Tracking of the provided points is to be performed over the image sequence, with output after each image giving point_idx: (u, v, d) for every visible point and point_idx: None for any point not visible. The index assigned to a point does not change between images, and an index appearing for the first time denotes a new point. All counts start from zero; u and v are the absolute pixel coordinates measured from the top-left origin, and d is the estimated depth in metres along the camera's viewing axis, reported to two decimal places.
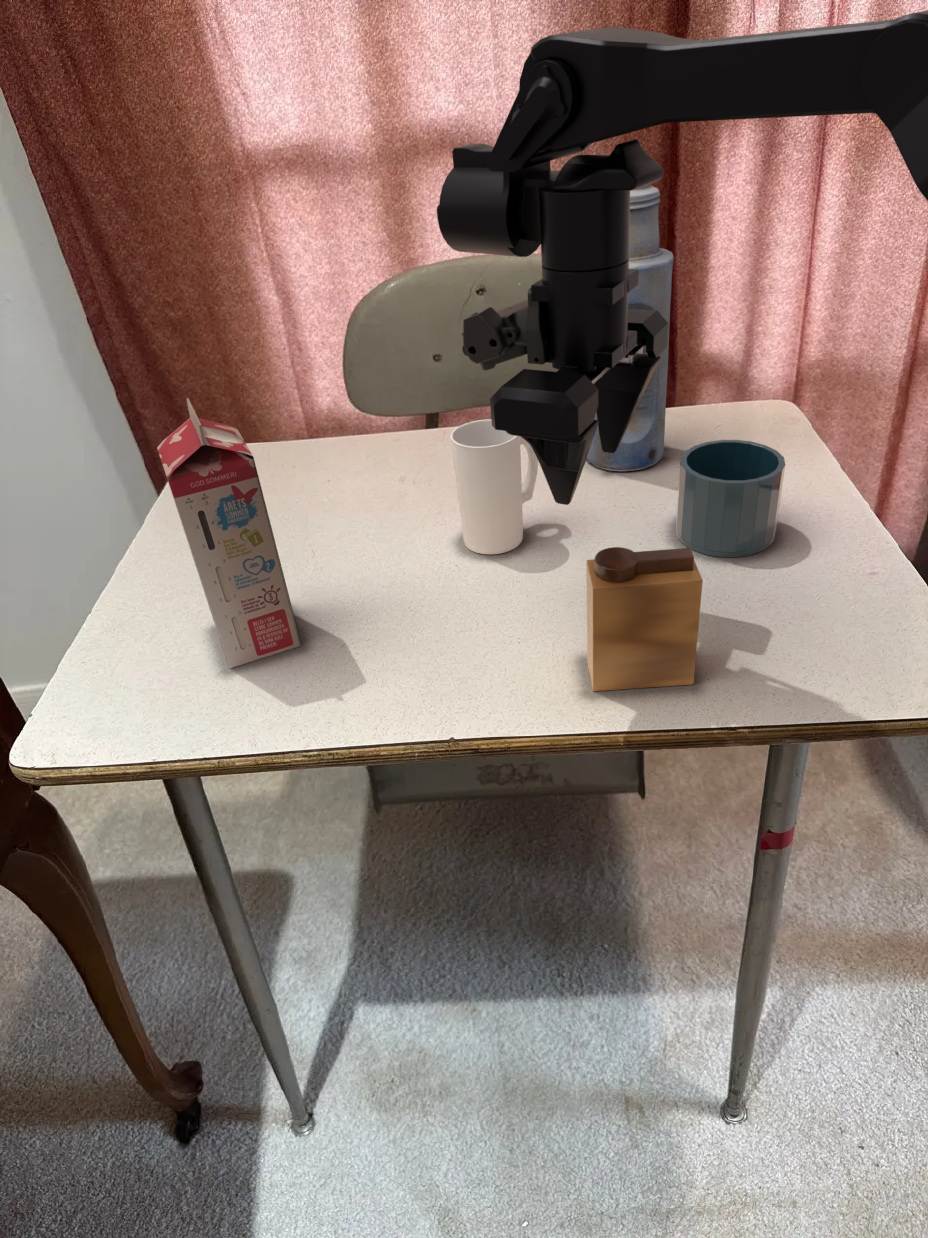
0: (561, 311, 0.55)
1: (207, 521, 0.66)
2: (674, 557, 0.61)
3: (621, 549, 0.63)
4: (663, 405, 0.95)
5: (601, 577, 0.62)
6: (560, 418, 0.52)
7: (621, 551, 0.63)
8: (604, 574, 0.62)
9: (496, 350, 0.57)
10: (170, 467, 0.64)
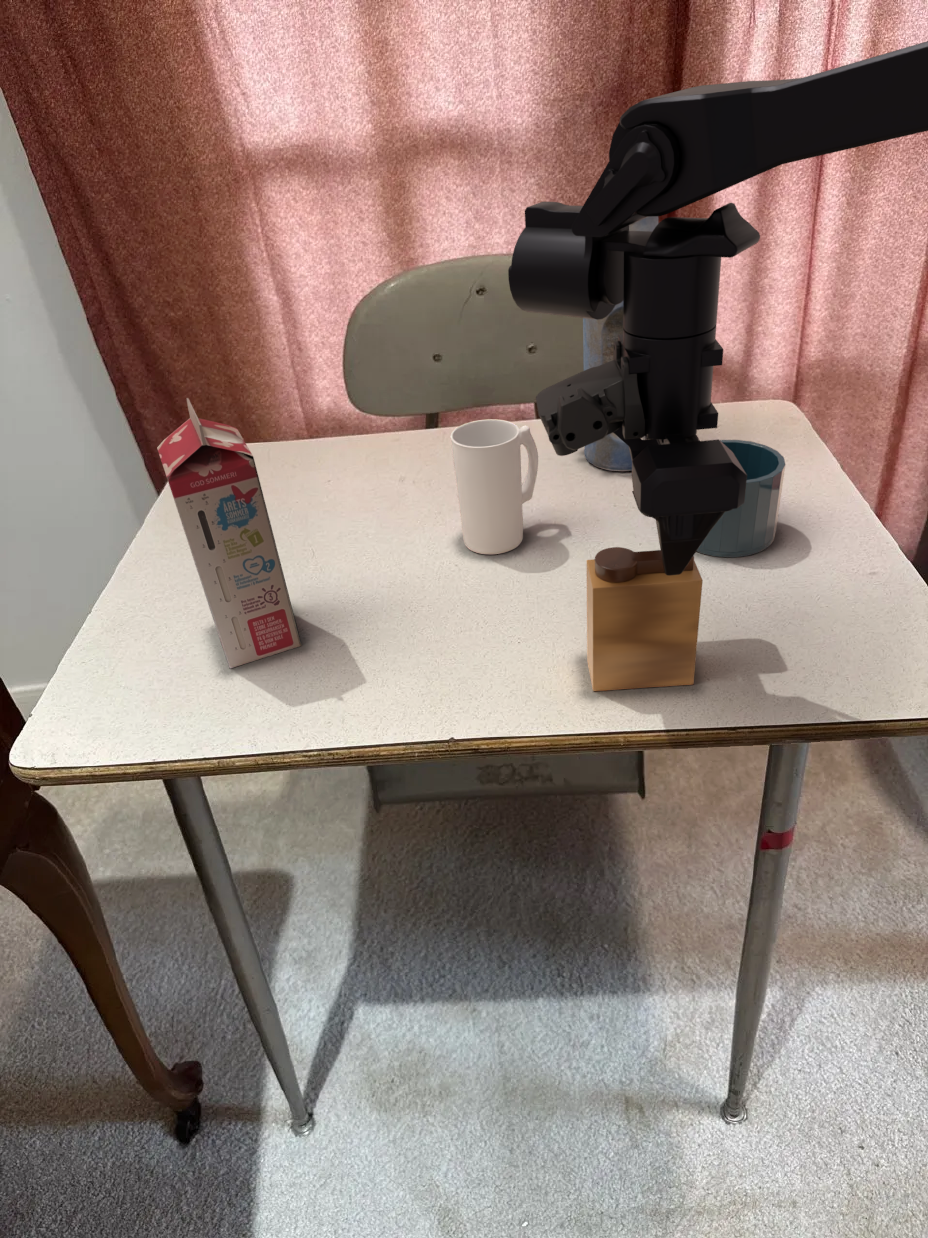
0: (668, 379, 0.52)
1: (207, 521, 0.66)
2: None
3: (621, 549, 0.63)
4: None
5: (601, 577, 0.62)
6: (733, 488, 0.49)
7: (621, 551, 0.63)
8: (604, 574, 0.62)
9: (601, 432, 0.52)
10: (170, 467, 0.64)
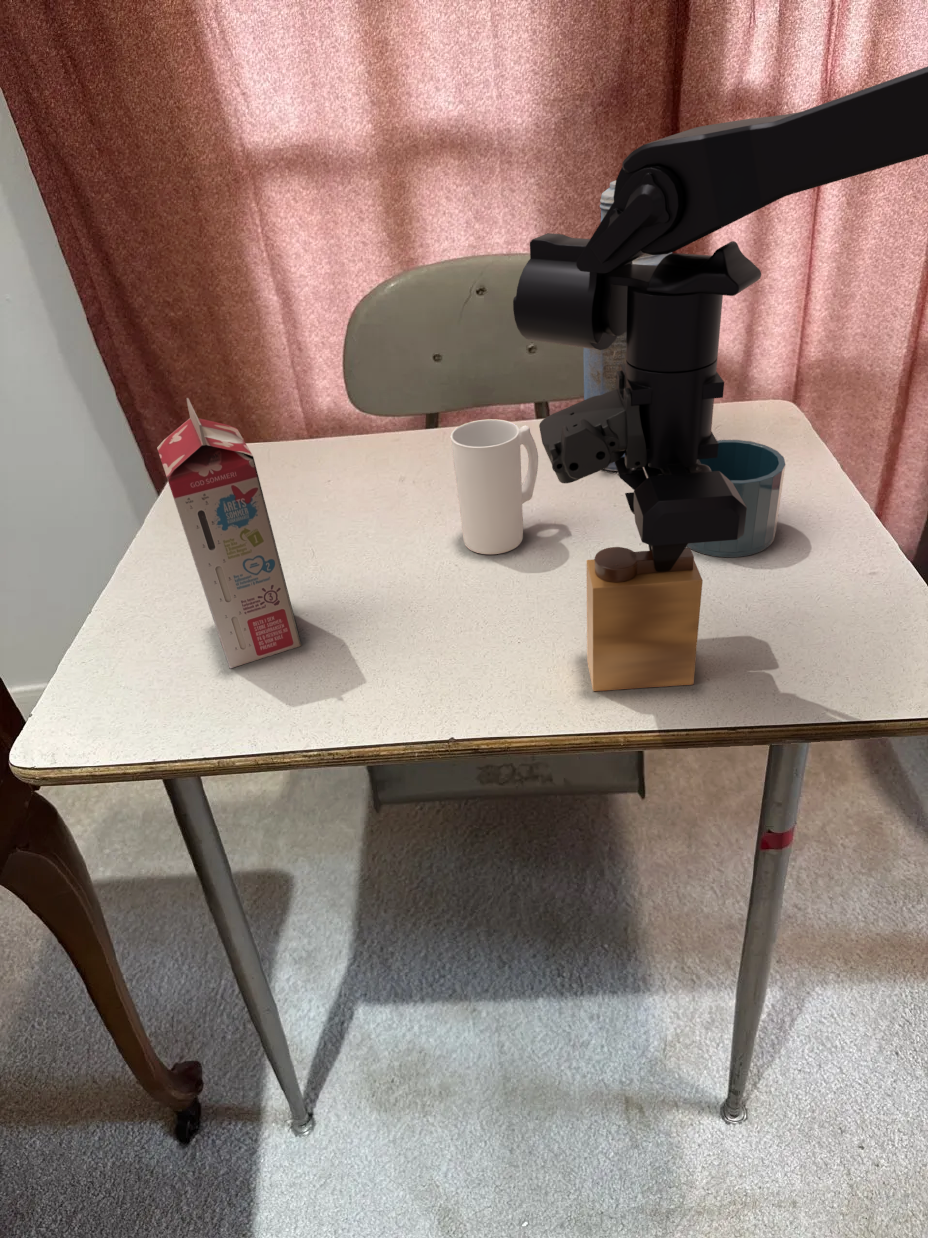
0: (669, 411, 0.53)
1: (207, 521, 0.66)
2: None
3: (621, 549, 0.63)
4: None
5: (601, 577, 0.62)
6: (732, 520, 0.50)
7: (621, 551, 0.63)
8: (603, 574, 0.62)
9: (604, 462, 0.53)
10: (170, 467, 0.64)
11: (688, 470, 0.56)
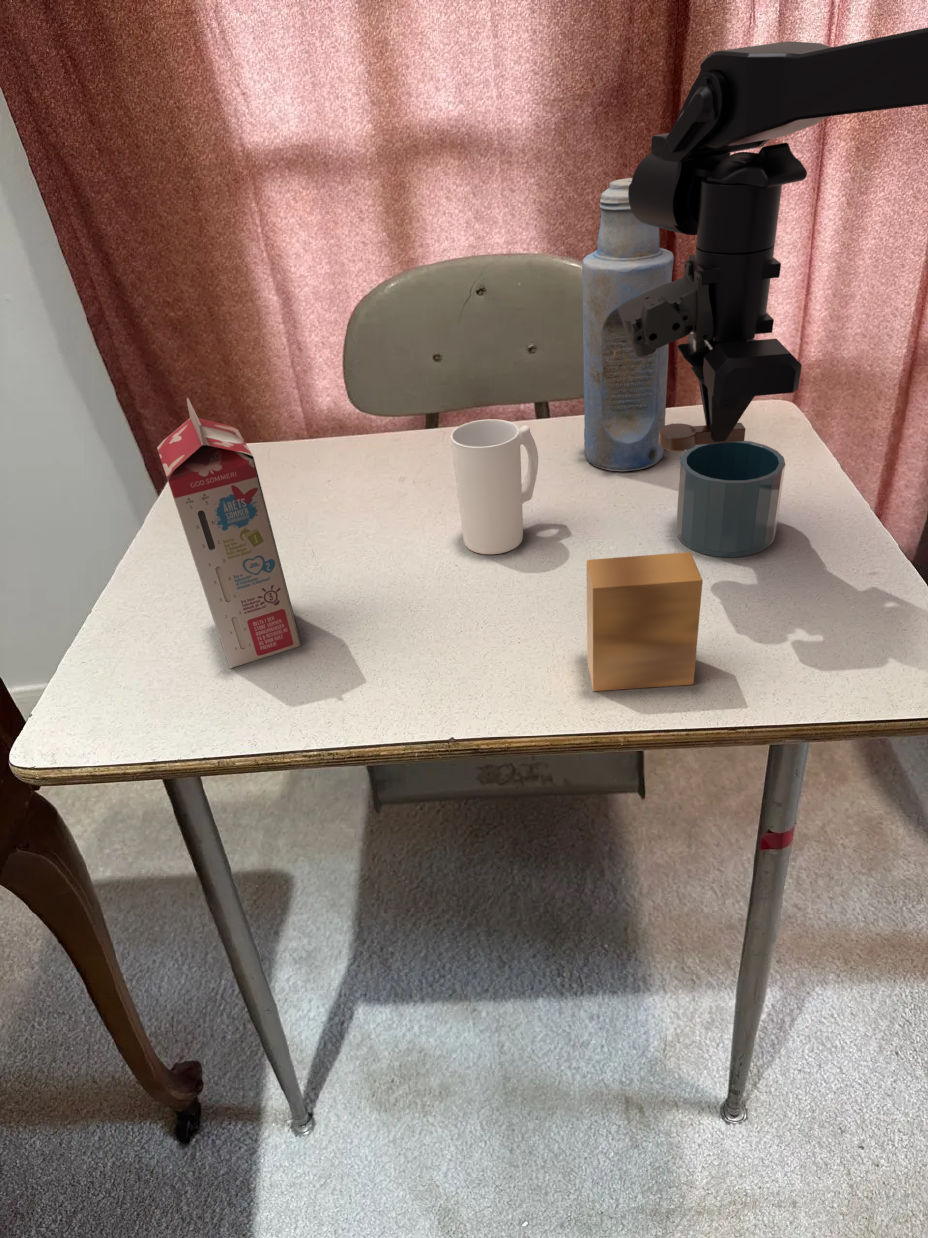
0: (734, 289, 0.63)
1: (207, 521, 0.66)
2: None
3: (681, 424, 0.73)
4: (663, 405, 0.95)
5: (665, 447, 0.72)
6: (790, 375, 0.60)
7: (681, 426, 0.73)
8: (668, 443, 0.72)
9: (679, 332, 0.63)
10: (170, 467, 0.64)
11: None
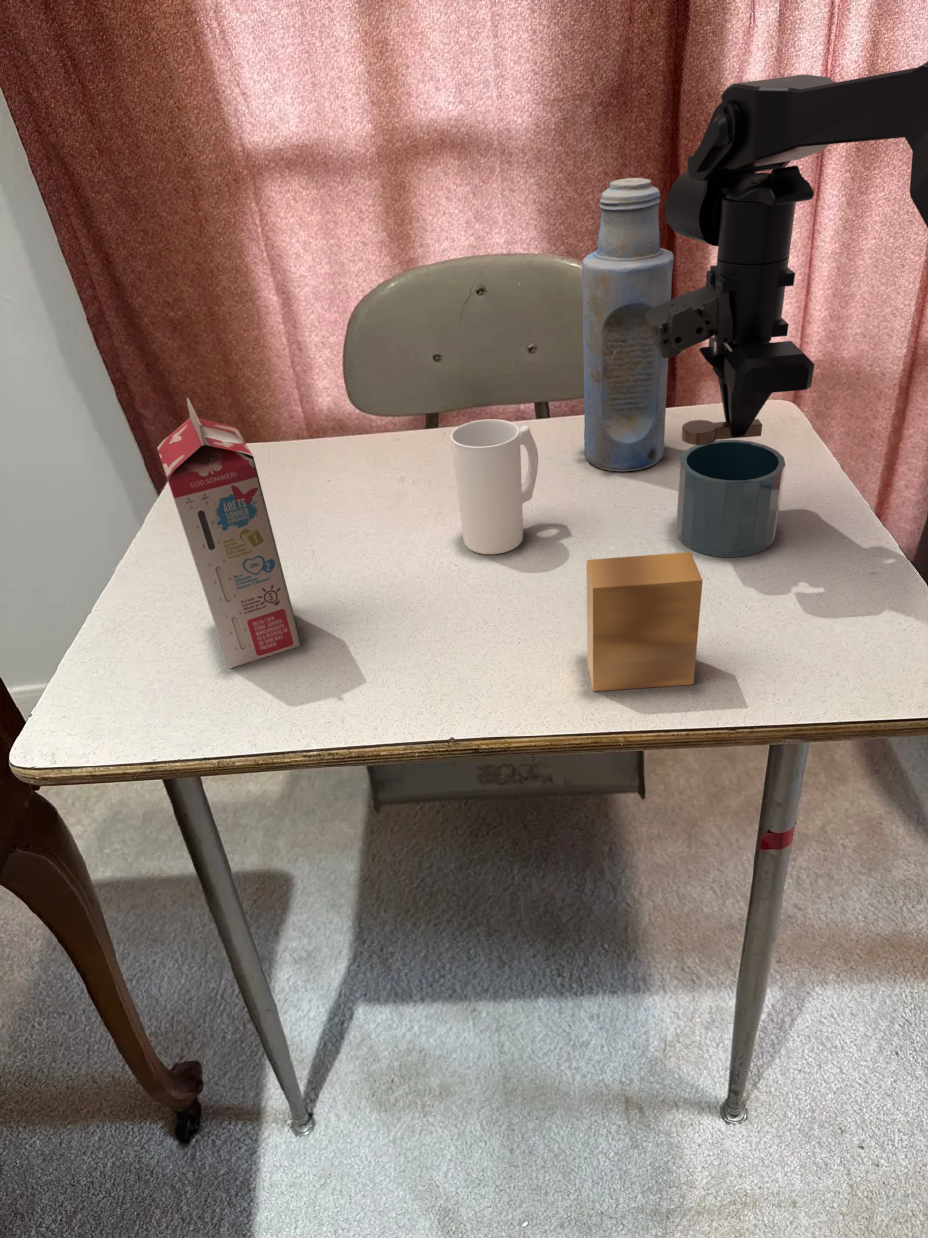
0: (752, 296, 0.69)
1: (207, 521, 0.66)
2: None
3: (703, 421, 0.79)
4: (663, 405, 0.95)
5: (688, 441, 0.78)
6: (804, 373, 0.66)
7: (703, 422, 0.79)
8: (690, 438, 0.78)
9: (702, 336, 0.69)
10: (170, 467, 0.64)
11: None
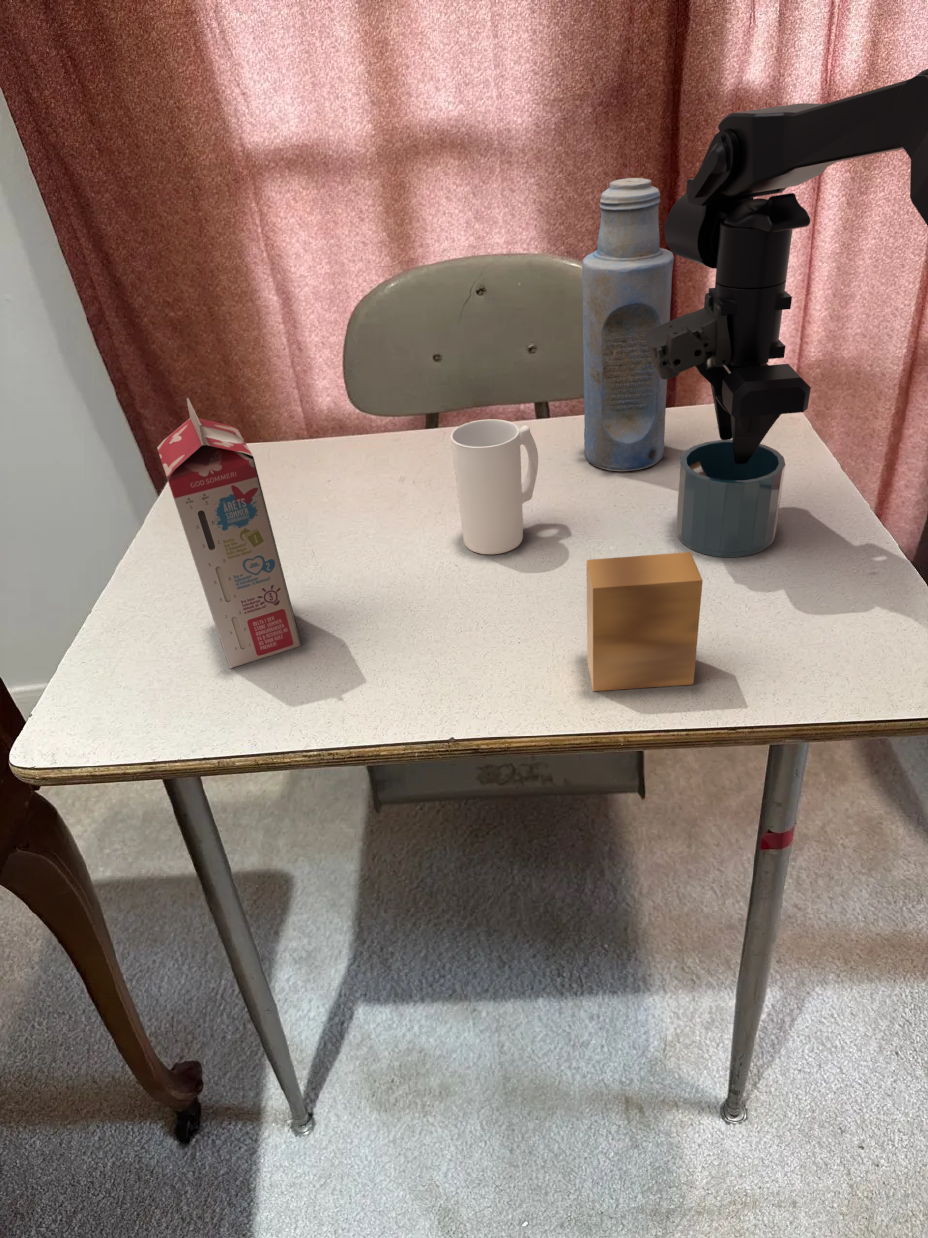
0: (750, 319, 0.70)
1: (207, 521, 0.66)
2: None
3: None
4: (663, 405, 0.95)
5: None
6: (800, 397, 0.67)
7: None
8: None
9: (700, 358, 0.70)
10: (170, 467, 0.64)
11: None
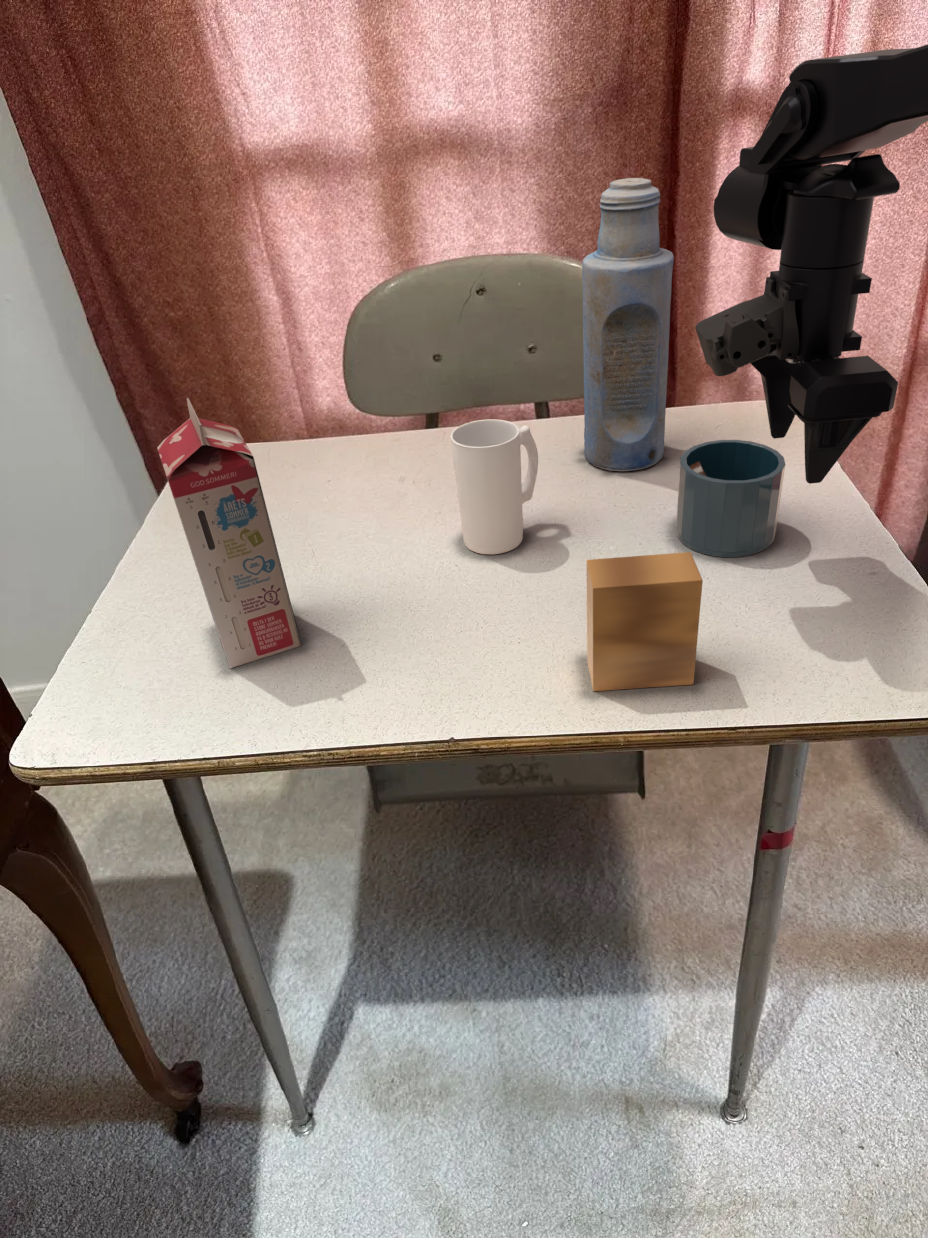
0: (822, 305, 0.60)
1: (207, 521, 0.66)
2: None
3: None
4: (663, 405, 0.95)
5: None
6: (886, 393, 0.57)
7: None
8: None
9: (764, 350, 0.61)
10: (170, 467, 0.64)
11: None
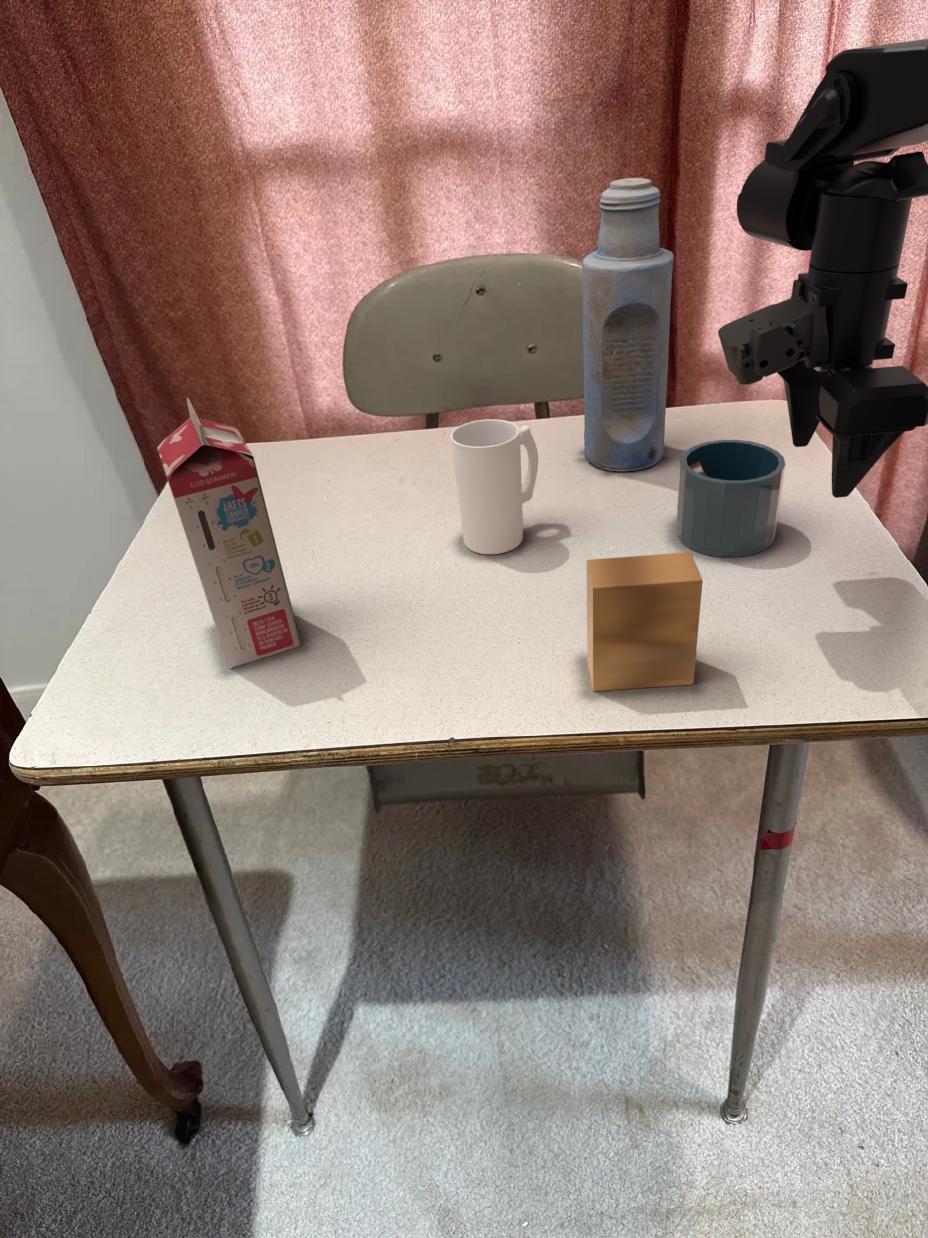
0: (855, 311, 0.57)
1: (207, 521, 0.66)
2: None
3: None
4: (663, 405, 0.95)
5: None
6: (923, 407, 0.54)
7: None
8: None
9: (793, 359, 0.57)
10: (170, 467, 0.64)
11: None
